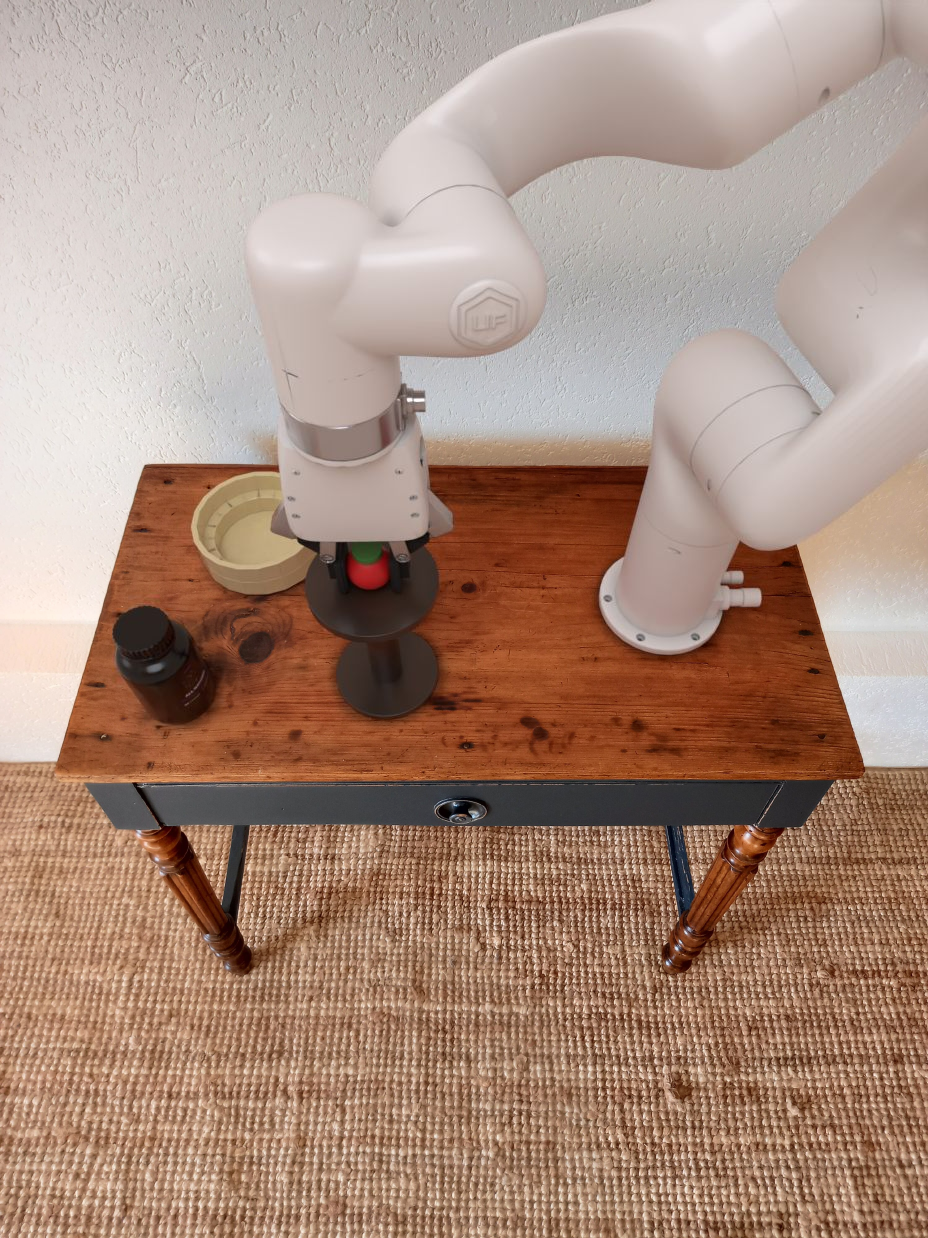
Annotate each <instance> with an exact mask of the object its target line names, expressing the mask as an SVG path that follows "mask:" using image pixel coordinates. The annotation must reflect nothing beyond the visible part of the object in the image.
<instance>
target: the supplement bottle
mask: <svg viewBox="0 0 928 1238" xmlns="http://www.w3.org/2000/svg"><path fill="white" fill-rule="evenodd" d="M111 630H112V633H111V635H112V640H113V643H114V645H115V647H116V648H115V652H114V663H115V667H116V668H117V671H118V672H119V675H121V677H122V679H123V680H124V681H125V683H126V684H127V685H128V687H129V688H130V690H131V691H132V693H133V694H134V696H135V697H136V698H137V700H138V702H139V703H140V704H141V705H142V707H143V708H144V710H145V711H146V713H147V714H148V715H149V716H150V717H151V718H152V719H154V720H155V721H157V722H159V723H162V724H166V725H180V724H181V725H182V724H184V723H188V722H191V721H192V720H195V719H196V718H198V717H200V715H202V714H203V713H204V712H205V711H206V710H207V708H209V706H210V704H211V703H212V701H213V699H214V695H215V691H216V690H215V686H216V685H215V680H214V678H213V674H212V673H211V670H210V669H209V667H208V665H207V663H206V661H205V659H204V657H203V655H202V653H201V652H200V649H199V647H198V646H197V644H196V642H195V640H194V638H193V635H192V634H191V633H190V631H189V630H188V628H186V626H184V625H183V624H182V623H180V622H178V621H176V620H174V619H170V617H169V616H168V615H167V613H166V612H165V611H164V610H162V609H161V608H159V607H156V606H152V605H138V606H136V607H132V608H130V609H128V610H127V611H125V612H123V613H122V614H121V615H120V616H119V617H118V619H116V621H115V623H114V624H113V628H112V629H111Z"/></svg>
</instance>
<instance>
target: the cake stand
mask: <svg viewBox="0 0 928 1238" xmlns="http://www.w3.org/2000/svg"><path fill="white" fill-rule="evenodd" d="M380 542H381V544H382V546H383V547H385V548H386V549H387V550H388V552H389V553H390V544H389V542H388V541H380ZM353 543H354V542H347V545H348V550H349V553H350V552H351V549H352V545H353ZM439 573H440V572H439V569H438V565H437V562H436V560H435V558H434V556H433V554H432V553H431V552H430V551H429V549H428V548H427V546H426V545H424V546H422V547H421V548H419V549H418V550H416V551H415V552H413V553H412V554H411V559H410V578H402V592H401V593H395V591H392V584H391V578H390V579H389V581H388V582H387V583H386V584H385V585H383V586H382V587H380V588H377V589H372V590H368V589H363V588H360V587H358V586H356V585H355V584H354V583H353V582H352V581H351V580H350V586H349V592H347V593H346V594H340V592H339V587H338V583H337V579H330V575H329V571H328V567H327V563H324V562H322V561H321V560H320V554H318V553H317V555H316V556H315V557H314V559H313V560H312V562H311V564H310V566H309V568H308V571H307V574H306V578H305V579H304V592H305V597H306V602H307V605H308V607H309V608H308V609H309V610H310V613H311V614H312V616H313V617H314V619H315V620H316V621H317V623H318V624H319V625H320V626H321V627H322V628H323V629H325V630H326V631H327V632H329V633H330V634H331V635H334V636H336V637H338V638H340V639H342V640H346V641H349V642H350V643H349V644H348V645H347V646H346V647H345V649H344V650H343V652H342V653H341V654H340V656H339V659H338V661H337V665H336V669H335V670H336V671H335V679H336V685H337V689H338V692H339V694H340V696H341V698H342V699H343V700H344V702H345V704H347V706H349V708H351V710H353V711H354V712H356V713H357V714H360V715H362V716H363V717H366V718H369V719H373V720H374V719H375V720H378V721H379V720H381V721H389V720H396V719H401V718H404V717H407V716H409V715H411V714H413V713H415V712H416V711H418V710H419V709H421V708H422V707H423V706H425V704H426V703H427V702H428V701H429V700H430V698H431V697H432V696H433V694H434V692H435V690H436V687H437V686H438V685H437V684H438V680H439V666H438V665H439V664H438V659H437V657H436V653H435V652H434V650H433V648H432V647H431V645H430V644H429V643H428V642H427V641H425V639H423V638H422V637H421V636H419V635H418V634H417V633H414V632H413V630H415V629H416V628H418V627H419V626H420V625H421V624H422V623H423V622H424V621H426V620H427V619H428V617H429V616H430V614H431V613H432V611H433V610H434V608H435V606H436V603H437V601H438V597H439V595H440V594H439V593H440V574H439Z"/></svg>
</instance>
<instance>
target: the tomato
mask: <svg viewBox="0 0 928 1238" xmlns="http://www.w3.org/2000/svg"><path fill="white" fill-rule="evenodd" d="M389 554H390V553H389V552H388V550H387V549H386V548H385V547H383V546H382V544H381V542H380V541H369V542H354V543H353V545H352V549H351V552H350V553H349V555H348V557H347V562H346V568H347V574H348V577H349V578H350V580H351V581H352V582H353V583H354V584H355V585H356V586H358V587H360V588H363V589H368V590H372V589H377V588H380V587H382V586H383V585H385V584H386V583H387V582H388V581H389V579H390V578H391V576H390V569H389Z"/></svg>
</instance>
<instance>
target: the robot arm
mask: <svg viewBox="0 0 928 1238" xmlns="http://www.w3.org/2000/svg"><path fill="white" fill-rule="evenodd" d="M900 58H905V59H908V60H909V61H911V62H913V64H915V65H916V66H918V67H919V68H920V69H922V70H923V71H924V72H925V73H926V74H928V0H651V1H649V2H646V3H644V4H642V5H639V6H634V7H632V8H626V9H623V10H618V11H615V12H614V11H613V12H610V13H606V14H604V15H603V14H602V15H600V16H597V17H595V18H591V19H589V20H585V21H582V22H579V23H577V24H574V25H571V26H568V27H566V28H563V29H559V30H556V31H553V32H550V33H546V34H544V35H542V36H539V37H536V38H533V39H530V40H528V41H525V42H523V43H521V44H520V43H519V44H517V45H516V46H514V47H512V48H510V49H508V50H505V51H504V52H502V53H499V54H498V55H497V56H495V57H492V59H490V60H488V61H486V62H484V63H483V64H482V65H481V66H479V67H478V68H476V69H475V70H473V71H472V72H471V73H469V74H468V75H466V76H465V77H464V78H463V79H461V80H460V81H459V82H458V83H457V84H455V85H454V86H452V87H451V88H450V89H449V90H448V91H446V92H444V94H442V95H441V96H440V97H439V98H437V99H436V100H435V101H434V102H432V103H431V104H430V105H429V106H427V107H426V108H425V109H424V110H422V111H421V112H420V113H419V114H418V115H417V116H416V117H414V118H413V119H412V120H411V121H410V122H409V123H407V124H406V126H404V127H403V128H402V129H401V130H400V131H399V133H398V134H396V136H395V137H394V138H393V140H392V141H391V142H390V143H389V144H388V146H387V147H386V148H385V150H384V151H383V152H382V154H381V156H380V157H379V159H378V162H377V163H376V165H375V167H374V168H373V169H374V170H373V173H372V176H371V179H370V181H369V188H368V200H367V201H368V205H367V204H365V203H363V202H361V201H360V200H357V199H355V198H354V197H351V196H348V195H346V194H341V193H338V192H337V193H336V192H331V191H330V192H329V191H310V192H309V191H308V192H307V191H306V192H301V193H295V194H292V195H289V196H285V197H282V198H281V199H278V200H275V201H274V202H272V203H270V204H268V205H267V206H266V207H265V208H263V209H262V210H261V211H259V213H257V215H255V216H254V218H253V219H252V221H251V222H250V224H249V226H248V228H247V230H246V233H245V236H244V242H243V258H244V264H245V269H246V273H247V277H248V282H249V286H250V290H251V294H252V298H253V301H254V304H255V309H256V313H257V318H258V321H259V325H260V329H261V333H262V337H263V341H264V345H265V349H266V352H267V357H268V362H269V364H270V369H271V373H272V377H273V382H274V385H275V389H276V393H277V397H278V401H279V406H280V412H279V414H278V417H277V461H278V471H279V472H278V473H280V479H281V487H282V494H283V499H282V501H281V502H280V504H279V506H278V507H277V509H276V510H275V512H274V514H273V515H272V520H271V527H270V530H271V532H272V533H275V534H277V535H280V536H283V537H286V538H289V539H292V540H293V539H297V542H298V543H299V544H301V545H303V546H305V547H306V548H308V549H310V550H312V551H314V552H316V553H318V554H320V560H321V561H322V562H324V563H327V567H328V571H329V575H330V579H337V583H338V587H339V592H340V594H346V593H347V592H349V586H350V578H349V577H348V574H347V568H346V562H347V557H348V555H349V550H348V545H347V542H369V541H388V542H389V544H390V554H389V569H390V576H391V584H392V591H395V593H401V592H402V578H410V559H411V554H412V553H413V552H415V551H416V550H418V549H419V548H421V547H422V546H426V545H427V544H428V543H429V542H430V539H437V538H439V537H442V536H444V535H446V534H449V533H451V532H453V531H454V530H455V529H454V528H455V527H454V526H455V524H454V522H455V519H454V518H455V515H454V513H453V512H452V511H451V510H450V509H449V508H448V507H447V506H446V505H445V504H444V503H443V502H442V501H441V500H440V499H439V498H438V497H437V496H436V494H435V493H433V491H431V482H430V472H429V464H428V456H427V451H426V450H427V449H426V445H425V444H426V443H425V439H424V435H423V431H422V427H421V424H420V420H419V418H418V414H417V413H426V412H427V396H426V395H427V393H426V390H424V389H419V390H417V389H416V390H415V389H414V387H408V384H407V382H406V383H403V372H402V371H401V361H400V357H422V358H446V359H461V358H462V359H465V358H467V359H469V358H479V357H486V356H490V355H494V354H498V353H500V352H503V351H506V350H508V349H511V348H512V347H514V346H516V345H518V344H519V343H521V342H522V341H523V340H525V339H526V338H527V337H528V336H529V335H530V334H531V333H532V332H533V331H534V329H536V327H537V325H538V324H539V322H540V320H541V318H542V316H543V315H544V311H545V308H546V306H547V300H548V299H547V298H548V280H547V273H546V270H545V266H544V264H543V262H542V259H541V257H540V255H539V252H538V250H537V248H536V246H535V245H534V242H533V241H532V239H531V238H530V236H529V234H528V232H527V231H526V229H525V228H524V226H523V224H522V223H521V221H520V219H519V218H518V216H517V214H516V211H515V209H514V207H513V206H512V204H511V202H510V201H509V199H510V198H511V197H512V196H514V195H515V194H516V193H518V192H519V191H520V190H522V189H524V188H525V187H526V186H528V185H529V184H531V183H532V182H534V181H535V180H537V179H539V178H540V177H542V176H544V175H546V174H548V173H550V172H552V171H554V170H556V169H558V168H561V167H564V166H566V165H569V164H571V163H575V162H579V161H582V160H588V159H592V158H593V159H594V158H600V157H602V158H603V157H626V158H636V159H641V160H647V161H652V162H657V163H662V164H667V165H672V166H678V167H684V168H689V169H690V168H692V169H698V170H703V171H704V170H705V171H706V170H707V171H722V170H727V169H732V168H735V167H736V166H738V165H741V164H743V163H744V162H746V161H747V160H748V159H750V158H751V157H752V156H754V155H755V154H757V153H759V152H760V151H761V150H763V149H764V148H765V147H767V146H768V145H769V144H771V143H773V142H774V141H775V140H777V139H779V138H780V137H782V136H783V135H785V134H786V133H787V132H789V131H790V130H792V129H793V128H794V127H795V126H797V125H798V124H799V123H801V122H803V121H804V120H805V119H807V118H808V117H810V116H811V115H813V114H815V113H816V112H817V111H819V110H821V109H822V108H823V107H825V106H827V105H828V104H829V103H831V102H833V101H834V100H836V99H837V98H839V97H840V96H841V95H843V94H844V93H846V92H847V91H848V90H850V89H852V88H853V87H854V86H856V85H858V84H859V83H861V82H862V81H864V80H866V78H868V77H870V76H871V75H872V76H873V74H875V73H876V72H877V71H879V70H881V69H882V68H884V67H885V66H887V65H888V64H890V63H891V62H893V61H895V60H897V59H900ZM773 300H774V310H775V313H776V316H777V320H778V321H779V323H780V325H781V327H782V328H783V330H784V332H785V334H786V335H787V336H788V338H789V339H790V340H791V342H792V343H793V345H794V346H795V347H796V348H797V350H798V351H799V353H800V354H801V355H802V357H804V359H805V360H806V361H807V363H808V364H809V365H810V366H811V368H813V370H814V371H815V372H816V374H817V375H818V376H819V378H820V379H821V380H822V381H823V382H824V384H825V385H826V386H827V388H828V389H829V390H830V391H831V392H832V394H833V395H834V396H833V398H832V400H831V401H830V402H829V404H828V405H827V406H826V407H825V408H824V409H823V410H822V409H821V408H820V407H819V405H818V404H817V403H816V401H815V400H814V399H813V397H812V395H811V393H810V392H809V390H808V389H807V388H806V387H805V385H804V383H802V382H801V380H800V379H799V378H798V376H797V375H796V374H795V373H794V371H792V369H791V368H790V366H789V365H788V364H787V363H786V362H785V360H784V359H783V358H782V357H781V355H779V354H778V353H777V351H776V350H774V348H773V347H772V346H770V345H769V344H768V343H767V342H766V341H764V340H763V339H762V338H760V337H759V336H756V335H755V334H752V333H751V332H748V331H745V330H742V329H737V328H719V329H714V330H710V331H706V332H704V333H702V334H700V335H698V336H696V337H695V338H693V339H691V340H690V341H689V342H687V343H686V344H685V345H684V346H682V348H680V349H679V350H678V351H677V352H676V353H675V355H674V356H673V357H672V359H671V360H670V361H669V362H668V364H667V366H666V367H665V368H664V371H663V374H662V375H661V378H660V380H659V384H658V386H657V390H656V393H655V398H654V405H653V413H652V431H651V432H652V436H651V451H650V456H649V457H650V458H649V462H648V468H647V472H646V476H645V480H644V483H643V487H642V491H641V494H640V498H639V503H638V506H637V509H636V513H635V516H634V520H633V524H632V527H631V531H630V535H629V539H628V542H627V546H626V549H625V553H624V556H622V557H620V558H619V559H618V560H616V561H615V562H614V563H612V565H610V567H609V568H608V569H607V570H606V572H605V574H604V576H603V578H602V579H601V583H600V587H599V592H598V606H599V609H600V612H601V616H602V617H603V619H604V621H605V623H606V625H607V626H608V627H609V628H610V630H611V631H612V633H614V634H615V635H616V636H617V637H618V638H619V639H621V640H622V641H623V642H624V643H626V644H628V645H629V646H631V647H633V648H635V649H638V650H640V651H643V652H646V653H650V654H655V655H665V656H673V655H681V654H685V653H688V652H692V651H693V650H696V649H698V648H699V647H701V646H703V645H704V644H706V642H708V641H709V640H710V639H711V638H712V636H713V635H714V634H715V633H716V631H717V629H718V627H719V625H720V623H721V621H722V620H721V619H722V617H723V611H728V610H729V609H730V607H740V608H759V607H760V606H761V604H762V591H761V589H760V588H759V587H740V588H730V587H729V586H728V585H742V584H743V582H744V576H745V575H744V572H743V571H742V570H728V567H729V565H730V563H731V561H732V559H733V557H734V555H735V553H736V550H737V548H738V546H739V543H740V542H741V543H742V544H744V545H745V546H748V547H749V548H752V549H754V550H757V551H765V552H771V551H773V552H774V551H779V550H783V549H788V548H790V547H793V546H796V545H799V544H800V543H802V542H804V541H806V540H807V539H809V538H811V537H813V536H815V535H816V534H818V533H820V532H821V531H822V530H824V529H826V528H827V527H829V526H830V525H831V524H833V523H834V522H835V521H837V520H838V519H839V518H840V517H842V516H843V515H844V514H845V513H847V512H848V511H850V510H851V509H852V508H853V507H855V506H857V504H859V503H860V502H861V501H862V500H864V499H865V498H866V497H867V496H869V495H870V494H871V493H873V492H874V491H875V490H876V489H878V488H879V487H880V486H881V485H883V484H884V483H885V482H887V481H888V480H889V479H890V478H892V477H893V476H894V475H896V474H897V473H898V472H900V471H901V470H902V469H903V468H905V466H907V465H909V463H911V462H912V461H913V460H914V459H916V458H917V457H918V456H919V455H921V454H922V453H923V452H925V451H926V450H927V449H928V111H926V112H925V115H924V116H923V118H922V119H921V120H920V121H919V123H918V125H916V126H915V128H914V129H913V130H912V131H911V132H910V134H909V135H908V136H907V137H906V138H905V140H904V141H903V142H902V143H901V144H900V145H899V146H898V147H897V149H896V150H895V151H894V152H893V153H892V155H890V157H889V158H887V160H886V161H885V162H884V163H883V164H882V165H881V166H880V167H879V168H878V169H877V171H876V172H875V173H874V174H873V175H872V176H871V177H870V178H869V179H868V180H867V181H866V182H865V183H864V184H863V185H862V186H861V187H860V188H859V190H858V191H856V193H855V194H854V195H853V196H852V197H851V198H850V199H849V200H848V201H847V202H846V204H844V206H843V207H842V208H841V209H840V210H839V211H838V212H837V213H836V214H835V215H834V216H833V218H831V219H830V221H828V222H827V224H826V225H825V226H824V227H823V228H822V229H821V230H820V231H819V232H818V233H817V234H816V236H814V238H813V239H812V240H811V241H810V242H809V243H808V244H807V245H806V246H805V248H803V250H802V251H801V252H800V253H799V254H798V255H797V256H796V258H795V259H794V260H793V261H792V263H791V264H790V265H789V266H788V268H787V269H786V271H784V273H783V274H782V276H781V278H780V279H779V282H778V283H777V286H776V290H775V294H774V299H773ZM727 570H728V571H727ZM727 584H728V585H727Z"/></svg>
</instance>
